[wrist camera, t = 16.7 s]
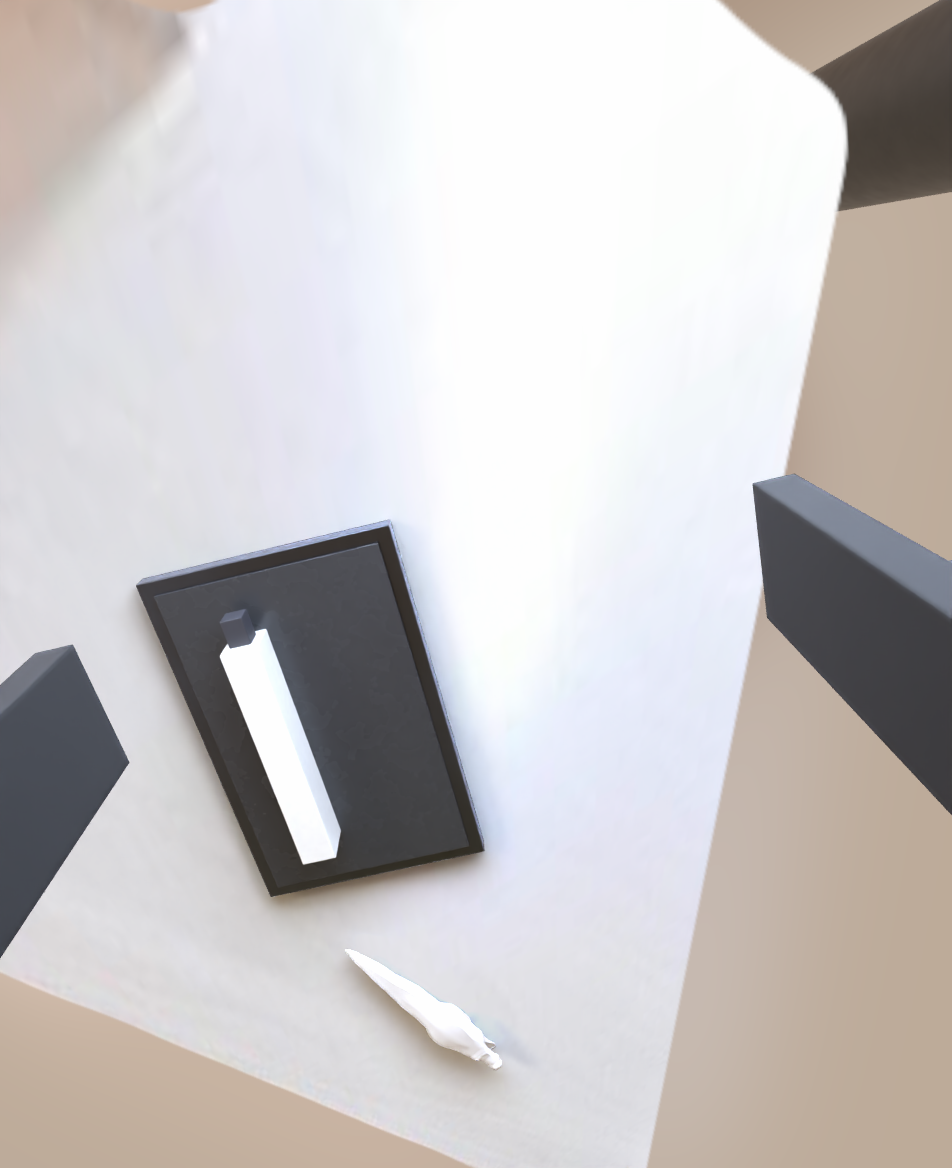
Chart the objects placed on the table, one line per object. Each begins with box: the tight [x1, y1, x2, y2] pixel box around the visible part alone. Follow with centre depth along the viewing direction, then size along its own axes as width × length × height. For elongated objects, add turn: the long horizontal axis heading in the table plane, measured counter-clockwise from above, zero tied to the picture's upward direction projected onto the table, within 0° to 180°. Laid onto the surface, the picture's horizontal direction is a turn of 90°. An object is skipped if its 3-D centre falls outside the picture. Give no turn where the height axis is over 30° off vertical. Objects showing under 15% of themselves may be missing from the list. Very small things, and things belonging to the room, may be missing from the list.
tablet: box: [136, 520, 484, 897], centre depth 45 cm, size 14×22×1 cm, turn 13°
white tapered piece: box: [345, 949, 502, 1070], centre depth 54 cm, size 15×3×2 cm, turn 43°
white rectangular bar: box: [220, 609, 341, 864], centre depth 44 cm, size 2×16×2 cm, turn 13°
